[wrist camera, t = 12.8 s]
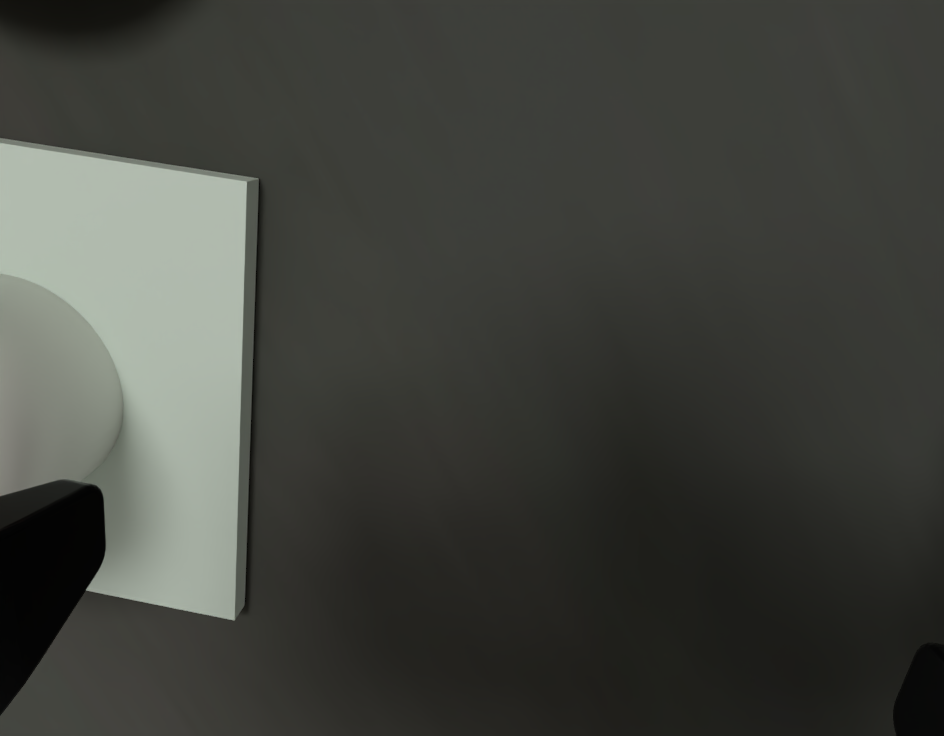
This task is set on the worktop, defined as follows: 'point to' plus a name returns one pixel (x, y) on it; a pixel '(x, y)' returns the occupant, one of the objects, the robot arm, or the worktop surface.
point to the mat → (154, 352)
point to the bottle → (52, 390)
